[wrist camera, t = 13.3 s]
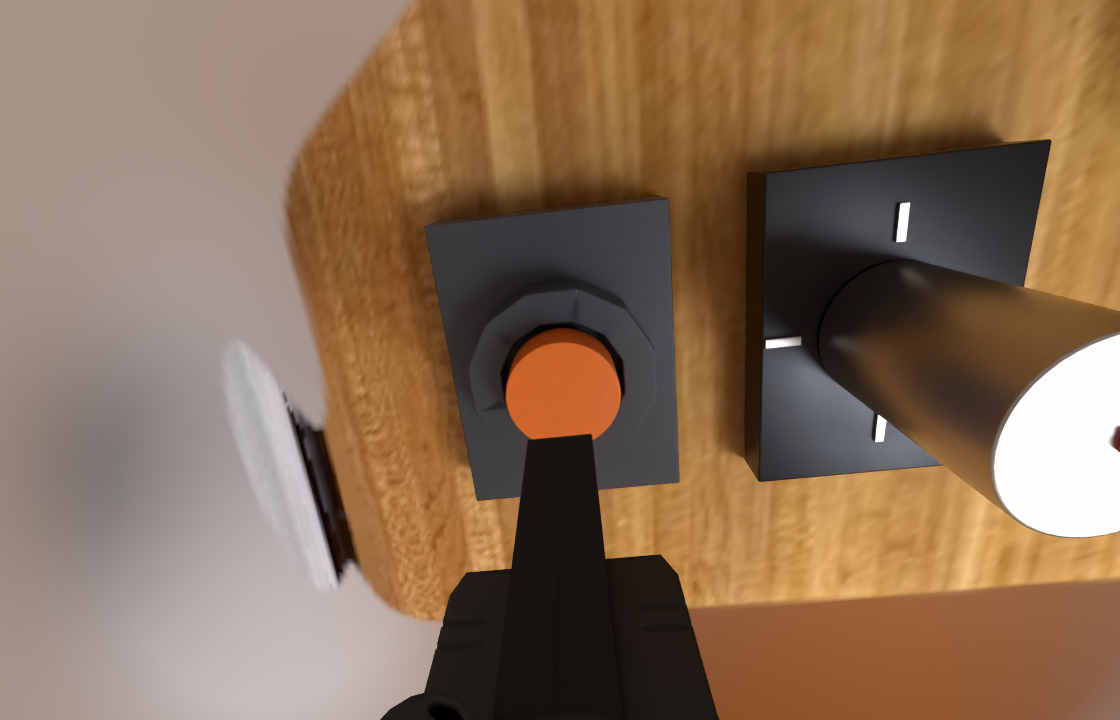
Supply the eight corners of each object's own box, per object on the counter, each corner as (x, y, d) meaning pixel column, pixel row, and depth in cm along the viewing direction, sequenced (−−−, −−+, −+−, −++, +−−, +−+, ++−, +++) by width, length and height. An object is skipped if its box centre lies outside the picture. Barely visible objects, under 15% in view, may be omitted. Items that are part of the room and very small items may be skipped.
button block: (437, 220, 21) (410, 230, 18) (658, 195, 21) (679, 200, 17) (483, 474, 25) (470, 527, 22) (670, 457, 25) (689, 507, 21)
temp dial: (814, 402, 22) (983, 557, 13) (821, 268, 20) (1025, 344, 11) (952, 388, 22) (1219, 536, 13) (973, 251, 20) (1302, 315, 11)
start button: (502, 333, 19) (497, 348, 18) (612, 322, 19) (616, 336, 17) (517, 430, 21) (513, 453, 19) (619, 420, 20) (624, 442, 19)
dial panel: (746, 171, 21) (767, 171, 19) (1007, 142, 20) (1057, 138, 18) (743, 459, 25) (759, 484, 23) (958, 439, 25) (993, 463, 23)
